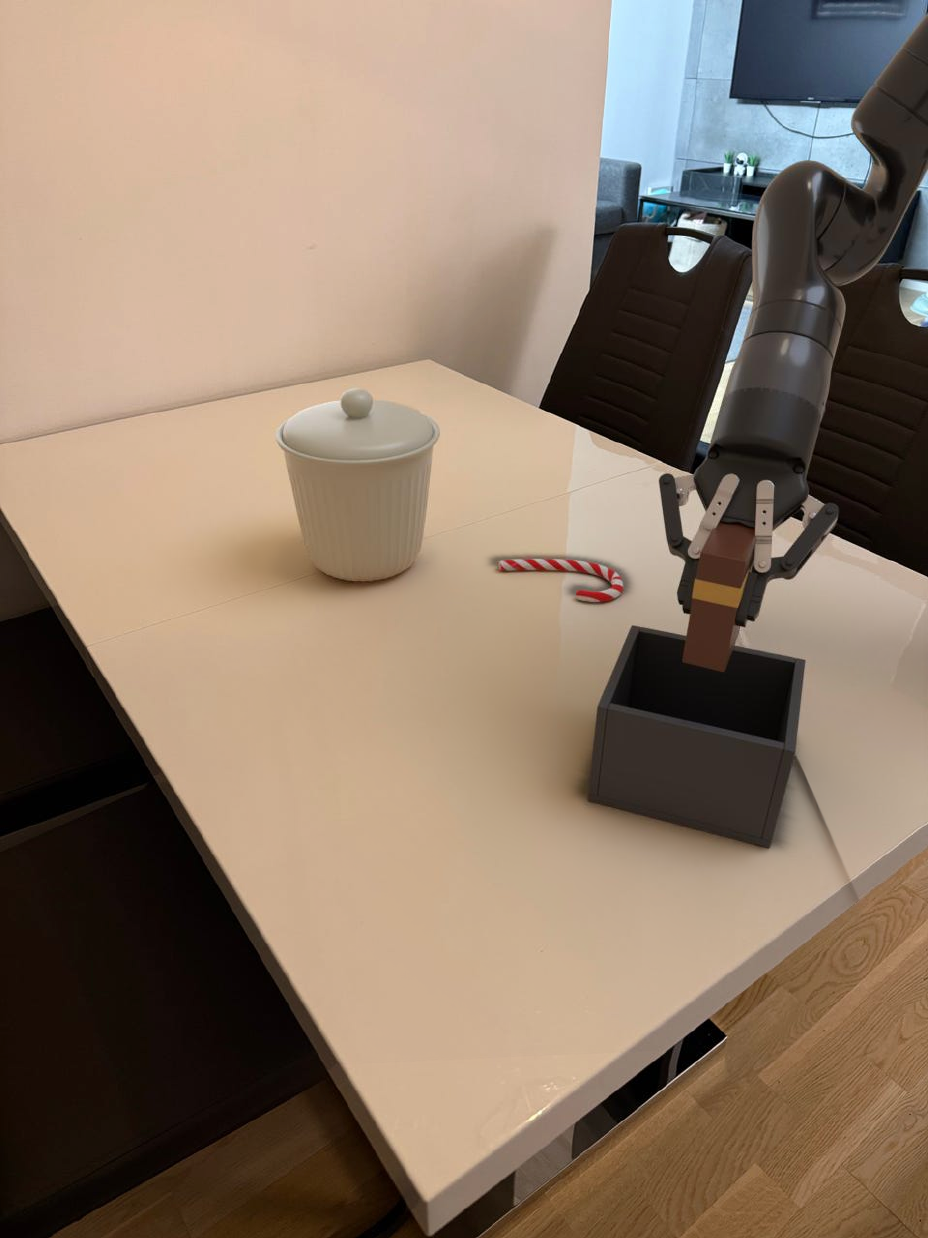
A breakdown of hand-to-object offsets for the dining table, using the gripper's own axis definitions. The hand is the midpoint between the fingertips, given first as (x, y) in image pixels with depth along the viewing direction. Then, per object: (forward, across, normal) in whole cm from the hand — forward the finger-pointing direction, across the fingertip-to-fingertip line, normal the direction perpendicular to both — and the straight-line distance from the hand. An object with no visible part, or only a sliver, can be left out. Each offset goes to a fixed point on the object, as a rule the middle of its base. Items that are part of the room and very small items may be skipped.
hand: (714, 616), depth 68 cm
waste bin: (+11, 0, +13) cm, 17 cm away
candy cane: (-8, -21, +32) cm, 40 cm away
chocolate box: (+1, 0, +4) cm, 4 cm away
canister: (-4, -44, +29) cm, 53 cm away
